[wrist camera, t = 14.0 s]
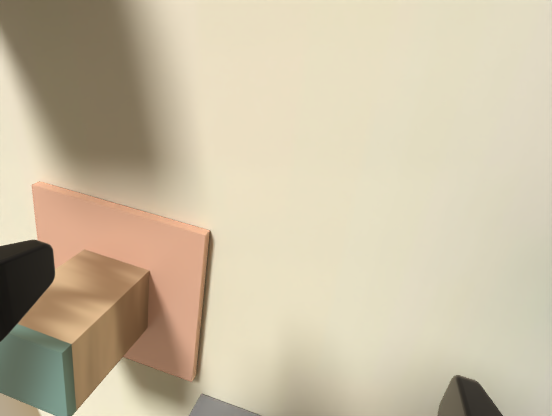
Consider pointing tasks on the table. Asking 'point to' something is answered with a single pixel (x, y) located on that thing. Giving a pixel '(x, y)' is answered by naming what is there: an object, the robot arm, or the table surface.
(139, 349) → the tile
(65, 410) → the oak block
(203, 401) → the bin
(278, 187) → the table surface
